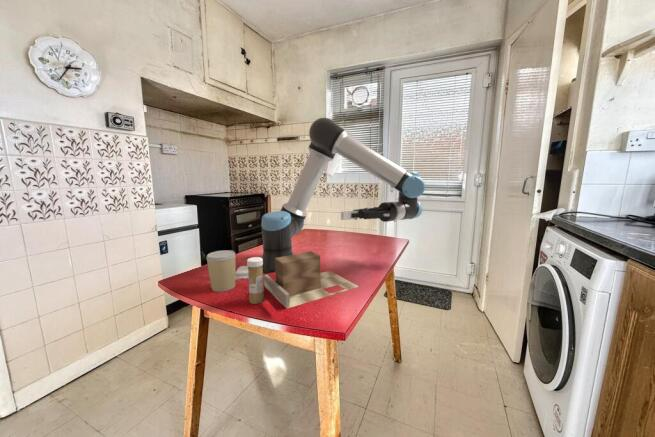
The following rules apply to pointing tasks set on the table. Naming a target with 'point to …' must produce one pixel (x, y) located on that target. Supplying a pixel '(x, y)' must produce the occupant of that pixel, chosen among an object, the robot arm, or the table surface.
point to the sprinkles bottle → (255, 280)
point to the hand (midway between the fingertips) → (342, 215)
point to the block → (298, 272)
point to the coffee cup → (222, 270)
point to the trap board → (326, 281)
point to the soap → (242, 272)
